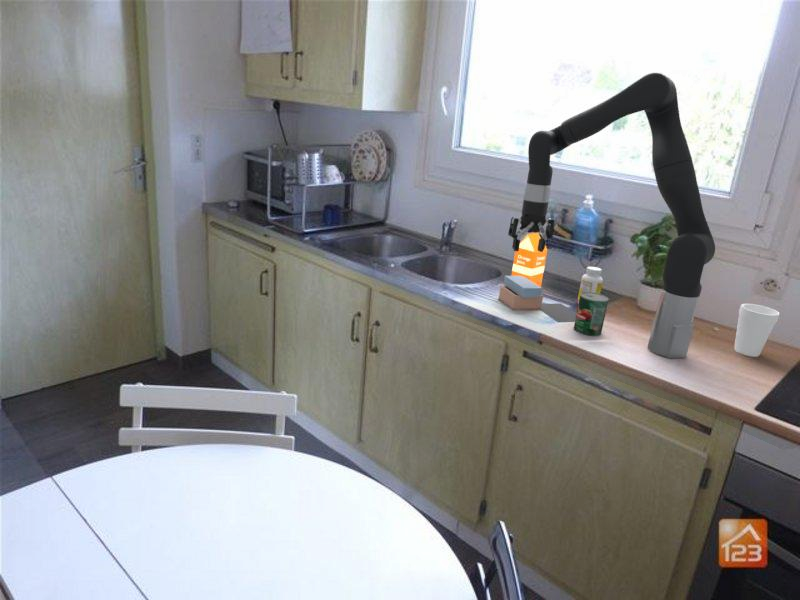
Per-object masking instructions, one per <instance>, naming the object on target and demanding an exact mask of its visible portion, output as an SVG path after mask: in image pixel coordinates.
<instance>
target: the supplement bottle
mask: <svg viewBox="0 0 800 600" xmlns="http://www.w3.org/2000/svg"><path fill="white" fill-rule="evenodd" d="M602 271H603V270H602V268H599V267H597V266H587V267H586V273H584V274H583V275H582V277H581V281H580V286H579V290H578V296H577V304H579V299H580V294H581V293H582V292H593V293H598V294H601V291H602V286H603V282H604V280H603V277H602V276H601V274H602V273H603V272H602Z"/></svg>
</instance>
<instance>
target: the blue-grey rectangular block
mask: <svg viewBox="0 0 800 600" xmlns="http://www.w3.org/2000/svg"><path fill="white" fill-rule="evenodd" d="M503 286H506V287H508V288H509V289H511V290H512V291H514V292H515V293H517V294H518V295H519V296H521V297H522V298H525V297H541V295H542V293H543V291H542V290H543V287H542V286H541V287H540V286H538V285H536V284H535V283H533V282H532V281H530V280H528V279H527V278H525V277H523V276H511V275H504V278H503Z"/></svg>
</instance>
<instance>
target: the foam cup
mask: <svg viewBox="0 0 800 600" xmlns="http://www.w3.org/2000/svg"><path fill="white" fill-rule="evenodd" d="M779 316H780V312H779V311H778V310H777V309H774V308H771V307H768V306H765V305H760V304H755V303H742V304H740V306H739V310H738V320H737V327H736V335H735V338H734V339H735V341H734V346H733V347H734V351H735V352H737V353H738V354H741V355H743V356H746V357H747V356H748V357H751V358H752V357H754V358H757V357H759V356H760V355H761V352H763V351H762V350H763V349H764V346H765V345H766V343H767V340H768V339H769V336H770V335H771V333H772V331H773V329H774V327H775V324H777V323H778V321H779V318H780V317H779Z"/></svg>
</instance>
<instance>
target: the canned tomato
mask: <svg viewBox="0 0 800 600" xmlns="http://www.w3.org/2000/svg"><path fill="white" fill-rule="evenodd" d="M609 300H610V299H609V298H608V296H606V295H604V294H601V293H600V294H598V293H593V292H582V293H581V294H580V299H579V304H578V303H577V304H578V305H577V310H576V313H577V314H576V319H575V322H574V325H573V330H574V331H575V332H576V333H578V334H581V335H585V336H588V337H589V336H590V337H599V336H601V334H602V331H603V328H604V327H603V326H604V322H605V319H606V318H605V317H606V313H607V308H608V303H609Z"/></svg>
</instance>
